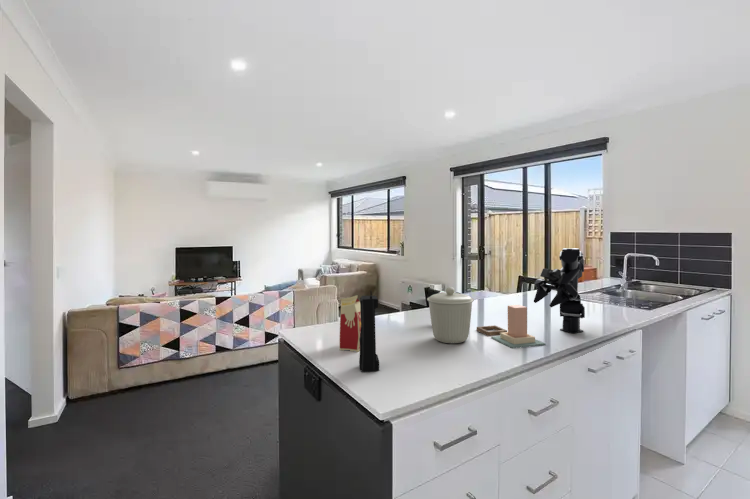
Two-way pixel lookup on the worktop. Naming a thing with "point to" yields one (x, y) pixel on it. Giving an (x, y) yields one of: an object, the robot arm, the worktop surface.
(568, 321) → the robot arm
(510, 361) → the worktop surface
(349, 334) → the milk carton
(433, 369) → the worktop surface
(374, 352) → the portable radio
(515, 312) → the peg
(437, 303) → the canister
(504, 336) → the mat
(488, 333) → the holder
